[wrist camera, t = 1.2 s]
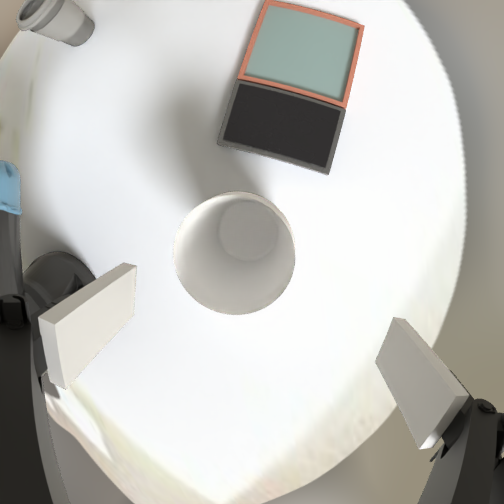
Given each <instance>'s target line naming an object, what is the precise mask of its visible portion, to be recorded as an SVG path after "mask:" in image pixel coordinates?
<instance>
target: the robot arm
mask: <svg viewBox="0 0 504 504" xmlns="http://www.w3.org/2000/svg"><path fill="white" fill-rule="evenodd" d="M20 182H21V180H20V174H19V171H18V169H17V168H16V166H15V165H13V164H12V163H10V162H6V161H2V160H0V504H70V501H69V499H68V495H67V493H66V490H65V486H64V483H63V480H62V477H61V473H60V469H59V466H58V462H57V458H56V455H55V450H54V445H53V441H52V437H51V431H50V426H49V421H48V415H47V408H46V401H45V394H44V385H43V379H42V377H43V376H44V375H45V374H46V373H47V372H48V375H49V379H50V382H51V383H53V384H55V385H57V386H59V387H61V388H63V389H65V390H66V389H67V388H68V387H69V386H70V385H71V383H72V382H73V381H74V380H75V379H76V378H77V377H78V376H79V374H80V373H81V372H82V371H83V370H84V369H85V368H86V367H87V366H88V364H89V363H90V362H91V361H92V360H93V359H94V358H95V357H96V356H97V354H98V353H99V352H100V351H101V350H102V349H103V348H104V347H105V346H106V345H107V344H108V343H109V341H110V340H111V339H112V338H113V337H114V336H115V335H116V334H117V333H118V332H119V331H120V330H121V329H122V328H123V326H124V325H125V324H126V323H127V322H128V321H129V320H130V319H131V318H132V317H133V316H134V305H135V286H136V271H137V266H135V265H131V264H127V263H122V264H120V265H119V266H117V267H115V268H114V269H112V270H110V271H109V272H107V273H106V274H104V275H102V276H101V277H99V278H97V279H96V280H95V278H94V276H93V275H92V274H91V272H90V271H89V270H88V269H87V267H86V266H85V265H84V264H83V263H82V262H80V261H79V260H78V259H77V258H75V257H73V256H72V255H70V254H67V253H64V252H51V253H48V254H45V255H43V256H40V257H39V258H37V259H36V260H34V261H33V262H32V264H31V265H30V266H29V267H28V269H27V270H26V271H25V272H24V273H23V272H22V261H21V246H20V215H22V209H21V207H20ZM375 363H376V365H377V366H378V368H379V370H380V372H381V374H382V376H383V378H384V380H385V382H386V384H387V385H388V387H389V389H390V391H391V393H392V395H393V397H394V399H395V401H396V403H397V405H398V407H399V409H400V411H401V413H402V415H403V417H404V419H405V421H406V423H407V425H408V427H409V429H410V431H411V434H412V435H413V438H414V440H415V442H416V444H417V446H418V448H419V449H425V448H431V447H434V445H435V444H436V443H437V442H438V440H439V439H440V438H441V437H442V439H443V440H444V444H443V445H442V446H441V447H440V448H439V450H438V451H437V452H436V453H435V455H434V456H433V457H432V458H431V460H430V462H432V461H433V460H434V459H435V458H436V460H435V463H434V466H433V469H432V471H431V474H430V476H429V479H428V481H427V484H426V486H425V488H424V491H423V493H422V495H421V497H420V499H419V502H418V504H504V457H503V458H502V457H501V454H502V453H503V452H504V413H497V411H496V408H495V407H494V406H493V405H492V404H491V403H489V402H488V401H486V400H484V399H475V400H474V398H473V397H472V396H471V395H470V394H469V392H468V391H467V390H466V389H465V387H464V386H463V385H462V384H461V382H460V381H459V380H458V379H457V377H455V375H454V374H453V372H452V371H451V370H449V369H448V368H447V367H446V366H445V364H444V363H443V362H442V361H441V360H440V358H439V357H438V356H437V355H436V354H435V352H434V351H433V350H432V349H431V348H430V347H429V346H428V344H427V343H426V342H425V341H424V340H423V339H422V338H421V336H420V335H419V334H418V333H417V332H416V331H415V330H414V328H413V327H412V326H411V325H410V324H409V323H408V322H407V321H406V320H405V319H401V318H394V317H393V319H392V322H391V325H390V327H389V330H388V332H387V335H386V337H385V340H384V342H383V344H382V347H381V349H380V351H379V354H378V356H377V358H376V360H375Z"/></svg>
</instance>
